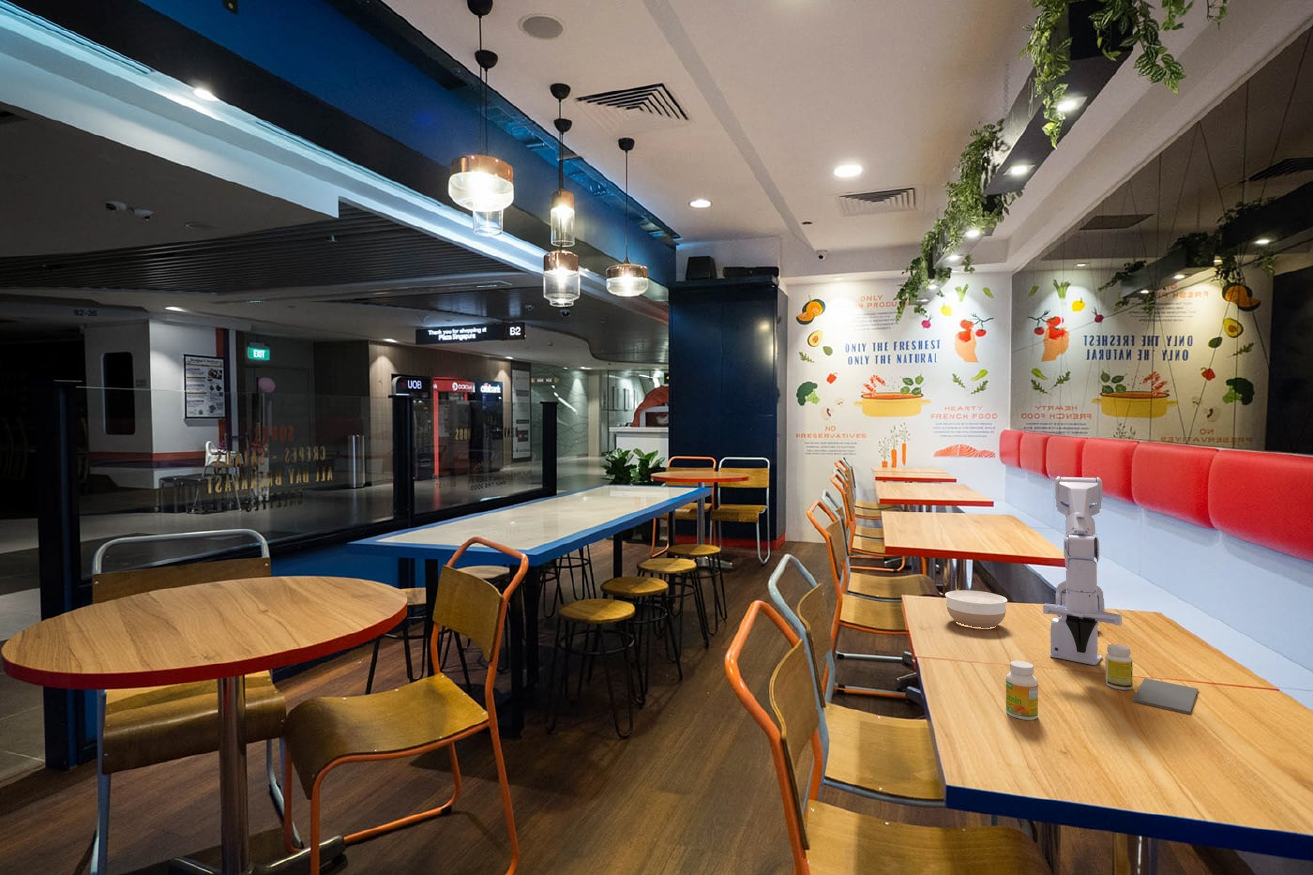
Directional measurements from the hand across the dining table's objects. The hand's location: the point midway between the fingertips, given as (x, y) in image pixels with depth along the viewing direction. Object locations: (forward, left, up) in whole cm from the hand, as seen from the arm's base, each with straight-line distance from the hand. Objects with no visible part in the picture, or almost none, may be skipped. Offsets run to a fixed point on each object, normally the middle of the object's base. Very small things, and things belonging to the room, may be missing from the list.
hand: (1081, 651), depth 145 cm
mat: (+15, 0, -6) cm, 16 cm away
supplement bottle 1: (-4, -30, -6) cm, 31 cm away
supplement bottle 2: (+7, 0, -6) cm, 9 cm away
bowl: (-31, +29, -6) cm, 43 cm away
